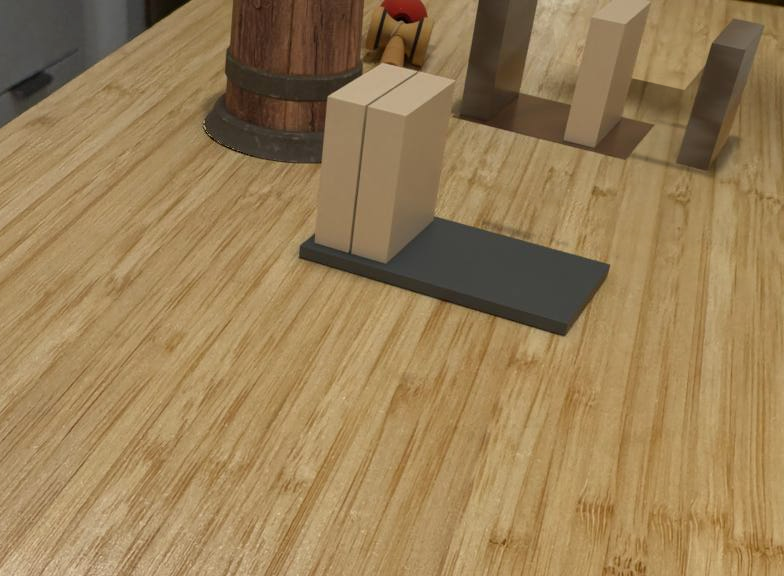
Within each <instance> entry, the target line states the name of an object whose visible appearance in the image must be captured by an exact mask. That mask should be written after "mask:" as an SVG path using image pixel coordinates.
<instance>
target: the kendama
mask: <svg viewBox="0 0 784 576" xmlns="http://www.w3.org/2000/svg"><path fill="white" fill-rule="evenodd" d="M434 25H435V19H432V18H430V17H429V16H428V12H427V8H426V5H425V4H424V3H423V1H422V0H383V1H382V2H381V3H380V5H376V6H375V7H374V9H373V13H372V15H371V19H370V23H369V27H368V31H367V35H366V39H365V43H364V47H365V49H367V50H369V51H373V52H374V51H375V50H377V49H379V48H381V47H382V48H383V47H385V48H384V51H383V53H382V56H381V58H380V61H379V63H378V65H380V64H382V63H385V64H389V65H393V66H398V67H402V68H404V63H405V54H406V56H407V57H408V58H409V61H410V62H411V64H412V65H415V66H419V67H422V66H423V64H424V62H425V59H426V55H427V51H428V47H429V44H430V40H431V36H432V34H433V29H434Z"/></svg>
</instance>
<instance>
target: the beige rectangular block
mask: <svg viewBox="0 0 784 576" xmlns="http://www.w3.org/2000/svg"><path fill="white" fill-rule="evenodd" d="M651 5H652V1H651V0H611V1H610V2H609V3H607V4H606V5H605V6H604V7H602V8H601V9H599V11H597V12H595V13H594V14H593V15H592V16H591V17H590V22H589V26H588V30H587V35H586V39H585V45H584V47H583V52H582V56H581V61H580V66H579V70H578V74H577V77H576V83H575V87H574V91H573V96H572V100H571V104H570V105H571V108H570V113H569V117H568V122H567V126H566V130H565V135H564V139H563V140H564V141H568V142H572V143H577V144H581V145H585V146H589V147H593V148H595V147H596V146H597V145H598V144H599V142H600V141H601V140H602V139H603V138H604V137H605V136H606V135H607V134H608V133H609V132H610V131H611V130H612V128H613V127H614V126H615V125H616V124H617V123H618V122H619V121H620V120H621V117H623V112H624V110H625V105H626V102H627V97H628V94H629V90H630V85H631V82H632V79H633V73H634V71H635V67H636V63H637V59H638V55H639V51H640V47H641V43H642V40H643V35H644V31H645V28H646V24H647V20H648V17H649V14H650V13H649V12H650V9H651Z"/></svg>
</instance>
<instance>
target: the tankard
mask: <svg viewBox="0 0 784 576" xmlns="http://www.w3.org/2000/svg"><path fill="white" fill-rule="evenodd" d="M364 8H365V0H232V11H231V24H230V37H229V38H230V39H229V46H228V47H227V49H226V51H225V61H224V62H225V64H224V65H225V66H224V74H225V76H226V87H225V92H224V93H222V94H221V95H220V96H219V97H218V98H217V99H216V101H215V102H214V104H213V107H212V109H211V111H209V112H208V113H209V114H208V113H207V114H208V115H207V114H206V115H207V116H206V115H205V116H206V118H205V117H204V118H205V123H204V125H205V127H206V131H207V132H208V134H210V135H211V136H212V138H214V139H215V140H216V141H217V142H216V141H215V140H214V141H215V142H216V143H218V141H219V142H220V143H221V144H223V145H226V146H229V147H230V148H234V149H235V150H239V151H240V152H239V153H241V152H243V153H242V154H244V153H245V154H244V155H247V154H248V155H247V156H251V155H253V156H252V157H254V158H255V157H256V158H259V159H265V160H270V161H276V162H277V161H278V162H287V163H288V162H289V163H302V164H305V163H314V164H315V163H317V164H318V163H322V153H323V142H324V131H325V120H326V109H327V97H328V96H329V95H331V94H332V93H334V92H335V91H337V90H339V89H340V88H342V87H344V86H345V85H347V84H349V83H350V82H352V81H354V80H355V79H357V78H359V77H360V76H362V75H363V71H364V70H363V69H364V63H363V60H362V59H361V52H362V37H363V23H364ZM208 134H207V135H208ZM212 138H211V139H212ZM221 144H220V145H221ZM223 145H222V146H223ZM230 148H229V149H230Z"/></svg>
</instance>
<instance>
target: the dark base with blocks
mask: <svg viewBox="0 0 784 576" xmlns="http://www.w3.org/2000/svg"><path fill="white" fill-rule="evenodd" d="M456 82H457V81H456V79H452V78H448V77H445V76H444V77H443V76H439V75H436V74H431V73H426V72H422V71H419V72H418V71H417V70H414V69H410V68H405V67H403V68H402V67H398V66H393V65H389V64H385V63H382V64H380V65H379V64H378V65H377V66H375V67H373V68H372V69H370V70H369V71H367V72H365V73H364V74H363V73H362V76H360V77H359V78H357V79H355V80H354V81H352V82H350V83H349V84H347V85H345V86H344V87H342V88H340V89H339V90H337V91H335V92H334V93H332V94H331V95H329V96H328V97H327V109H326V120H325V131H324V142H323V153H322V162H321V164H320V165H321V166H320V177H319V186H318V188H319V189H318V200H317V212H316V221H315V232H314V233H313V234H312V235H311V236H310V237H308V238H307V239H306V240H305V241H303V242H302V243H301V244H299V250H298V251H299V252H298V257H299V258H301V259H303V260H309V261H312V262H314V263H318V264H322V265H325V266H328V267H332V268H335V269H338V270H342V271H345V272H348V273H352V274H356V275H358V276H362V277H365V278H369V279H371V280H375V281H379V282H382V283H386V284H389V285H392V286H396V287H400V288H403V289H406V290H409V291H413V292H416V293H419V294H423V295H426V296H430V297H433V298H436V299H440V300H444V301H447V302H450V303H453V304H457V305H460V306H464V307H466V308H471V309H473V310H477V311H481V312H484V313H487V314H491V315H494V316H497V317H500V318H503V319H507V320H511V321H513V322H517V323H520V324H525V325H528V326H531V327H535V328H538V329H541V330H544V331H547V332H551V333H554V334H558V335H561V336H566V335H567V333H568V332H569V330H570V329H571V328H572V326H573V325H574V324H575V322H576V321H577V319H578V318H579V316H580V315H581V313H582V312H583V311H584V309H585V308H586V306H587V305H588V304H589V302H590V301H591V300H592V298H593V297H594V295H595V294H596V293H597V291H598V290H599V288H600V287H601V286H602V284H603V283H604V282H605V280H606V278H608V276H609V272H610V268H611V264H610V263H606V262H603V261H599V260H595V259H592V258H588V257H585V256H582V255H577V254H574V253H570V252H566V251H563V250H559V249H556V248H551V247H548V246H545V245H540V244H537V243H533V242H530V241H526V240H523V239H519V238H515V237H512V236H508V235H504V234H500V233H497V232H494V231H490V230H487V229H482V228H479V227H475V226H472V225H468V224H464V223H462V222H461V223H460V222H458V221H454V220H451V219H447V218H443V217H439V216H436V215H435V213H436V206H437V200H438V194H439V188H440V181H441V175H442V171H443V170H442V168H443V163H444V157H445V151H446V144H447V137H448V132H449V125H450V120H451V114H452V108H453V107H452V106H453V101H454V95H455V89H456Z"/></svg>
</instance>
